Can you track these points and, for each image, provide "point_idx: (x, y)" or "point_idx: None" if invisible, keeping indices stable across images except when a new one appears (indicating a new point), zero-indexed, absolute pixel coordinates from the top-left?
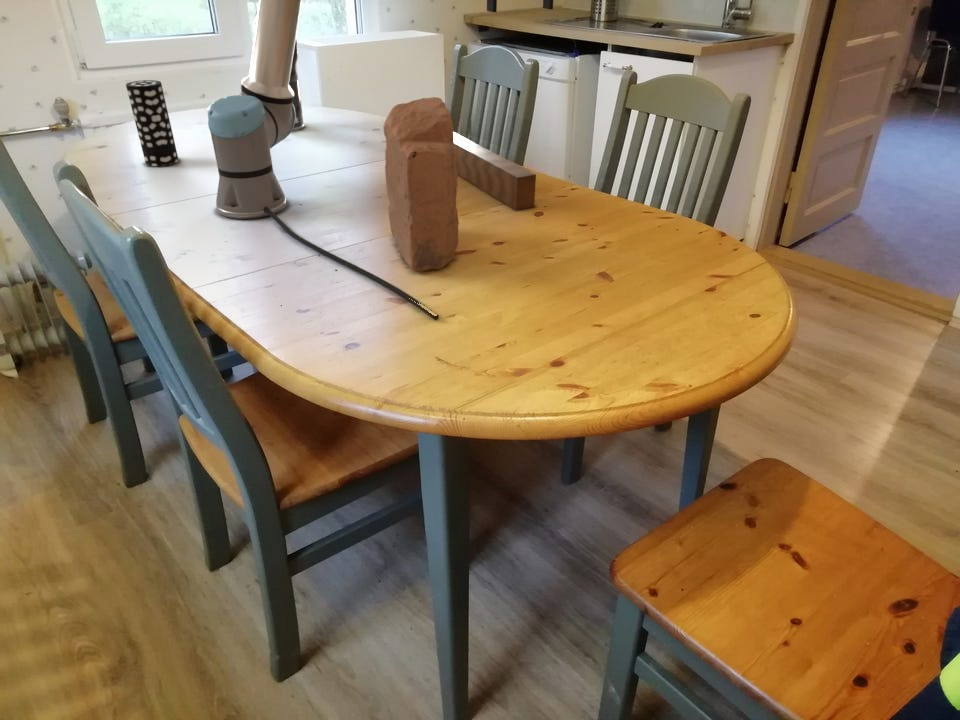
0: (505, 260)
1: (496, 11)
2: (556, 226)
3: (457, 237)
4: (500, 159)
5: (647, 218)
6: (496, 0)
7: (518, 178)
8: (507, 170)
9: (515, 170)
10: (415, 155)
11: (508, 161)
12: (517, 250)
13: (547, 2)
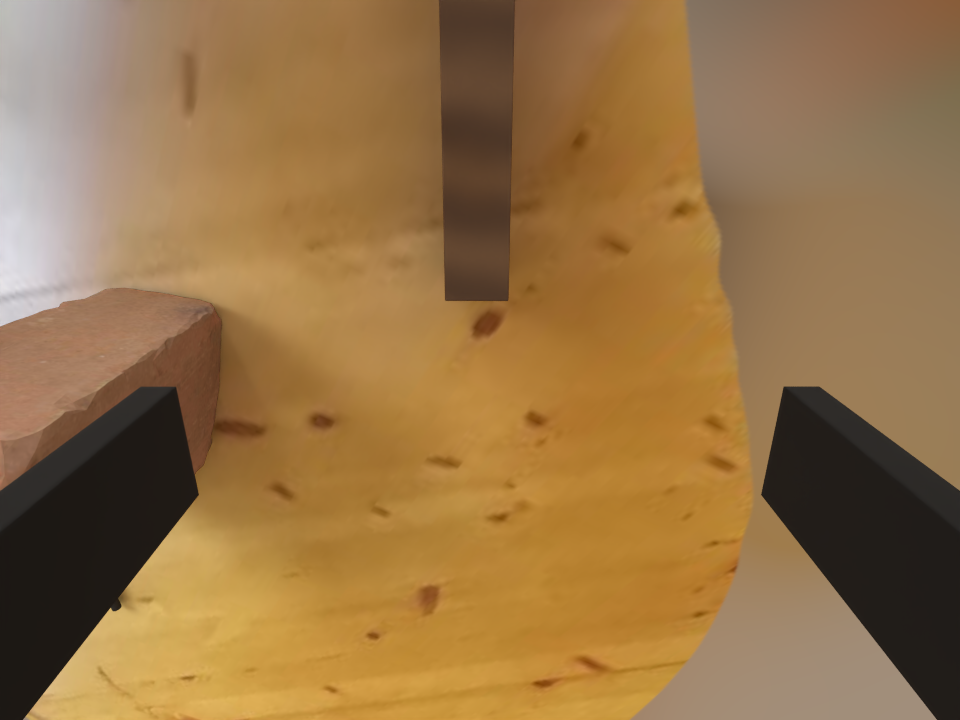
0: (300, 488)
1: (195, 497)
2: (480, 400)
3: (197, 470)
4: (491, 112)
5: (685, 448)
6: (146, 556)
7: (448, 300)
8: (452, 231)
9: (474, 242)
10: (55, 356)
11: (504, 147)
12: (342, 463)
13: (795, 488)
